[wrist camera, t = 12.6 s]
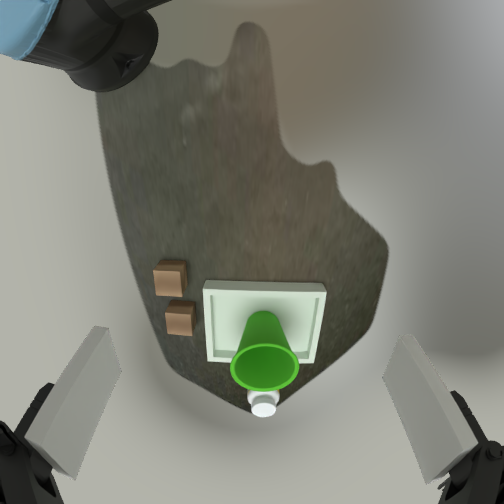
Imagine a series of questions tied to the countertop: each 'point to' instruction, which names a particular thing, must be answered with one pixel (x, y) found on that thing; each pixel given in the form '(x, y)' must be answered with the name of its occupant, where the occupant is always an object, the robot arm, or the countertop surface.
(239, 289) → the tray
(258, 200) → the countertop surface
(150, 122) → the countertop surface
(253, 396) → the supplement bottle
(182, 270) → the walnut block
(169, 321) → the walnut block
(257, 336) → the cup
